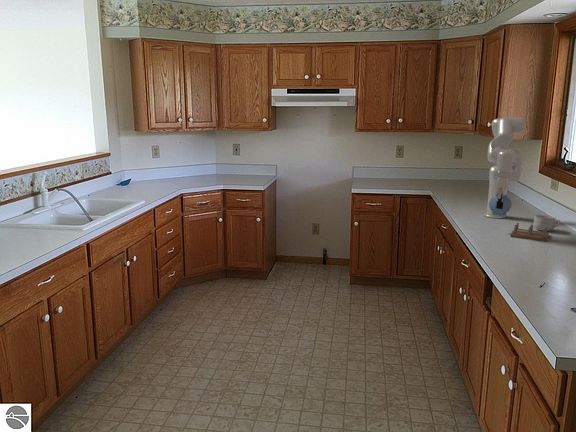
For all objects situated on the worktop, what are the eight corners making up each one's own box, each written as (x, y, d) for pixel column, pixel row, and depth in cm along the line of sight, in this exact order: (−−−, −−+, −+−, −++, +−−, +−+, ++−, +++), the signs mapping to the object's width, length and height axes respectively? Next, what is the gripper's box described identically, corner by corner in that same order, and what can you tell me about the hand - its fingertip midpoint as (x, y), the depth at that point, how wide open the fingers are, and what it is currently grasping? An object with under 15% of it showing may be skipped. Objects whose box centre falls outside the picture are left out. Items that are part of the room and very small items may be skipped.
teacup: (528, 228, 275) (530, 214, 273) (542, 226, 278) (544, 213, 276) (549, 234, 262) (551, 220, 260) (563, 232, 266) (565, 218, 264)
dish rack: (514, 230, 269) (515, 221, 268) (548, 235, 261) (549, 226, 260) (510, 236, 257) (511, 227, 256) (546, 241, 248) (547, 232, 247)
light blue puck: (488, 213, 269) (490, 192, 266) (510, 215, 263) (512, 194, 260) (487, 214, 267) (490, 193, 264) (509, 216, 261) (512, 195, 258)
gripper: (498, 171, 268) (494, 204, 272) (493, 176, 255) (489, 210, 259) (513, 173, 264) (509, 206, 269) (509, 177, 251) (505, 212, 255)
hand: (499, 207), depth 264 cm, fingers closed on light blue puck, 2 cm apart
